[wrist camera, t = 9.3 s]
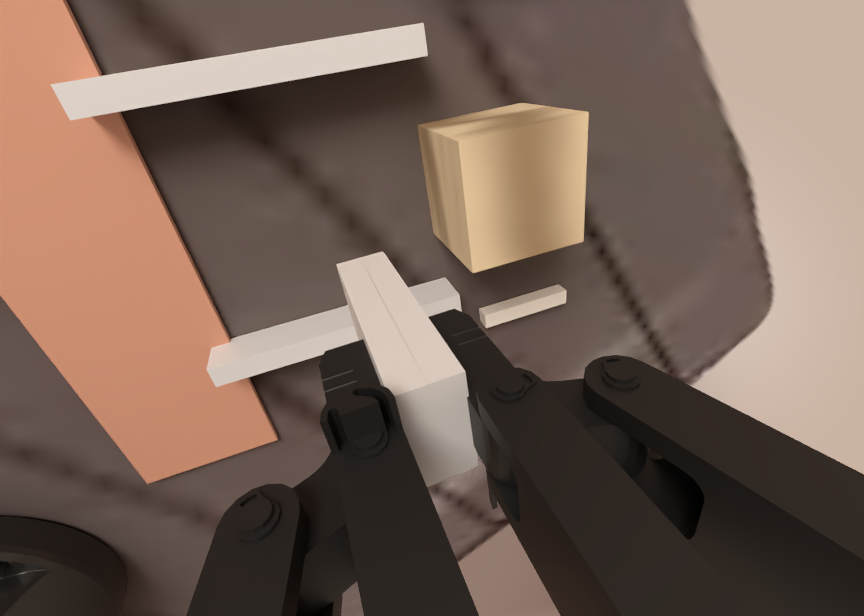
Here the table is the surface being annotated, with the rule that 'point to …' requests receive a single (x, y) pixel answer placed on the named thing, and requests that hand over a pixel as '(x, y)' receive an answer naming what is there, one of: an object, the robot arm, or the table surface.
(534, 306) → the strips
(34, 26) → the mat
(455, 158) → the maple block
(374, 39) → the guide rails
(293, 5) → the table surface
